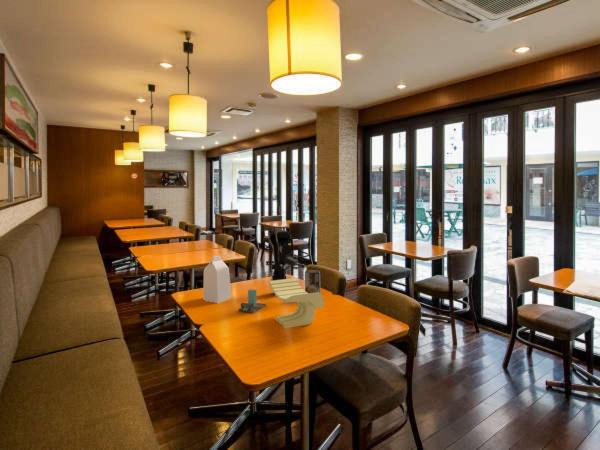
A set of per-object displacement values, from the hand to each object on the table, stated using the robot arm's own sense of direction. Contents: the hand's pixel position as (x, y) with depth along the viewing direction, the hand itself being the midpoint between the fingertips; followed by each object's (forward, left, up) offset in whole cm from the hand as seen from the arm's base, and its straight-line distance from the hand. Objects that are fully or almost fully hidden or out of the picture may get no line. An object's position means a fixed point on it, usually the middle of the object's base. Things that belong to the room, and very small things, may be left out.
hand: (283, 278), depth 215 cm
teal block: (+15, -20, -12) cm, 27 cm away
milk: (-9, -39, -13) cm, 42 cm away
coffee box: (-4, +18, -13) cm, 23 cm away
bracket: (+12, -18, -13) cm, 25 cm away
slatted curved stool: (+35, +3, -13) cm, 37 cm away
